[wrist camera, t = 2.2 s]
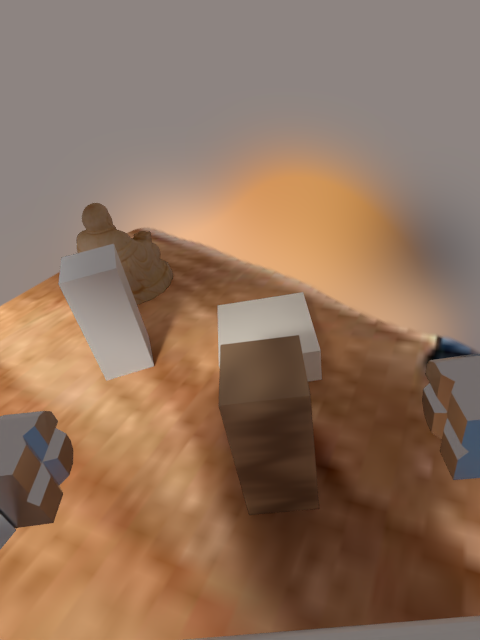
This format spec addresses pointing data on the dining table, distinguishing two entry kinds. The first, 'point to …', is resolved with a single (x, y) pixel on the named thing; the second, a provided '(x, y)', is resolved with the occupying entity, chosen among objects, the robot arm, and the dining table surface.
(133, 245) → the statue
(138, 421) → the dining table surface
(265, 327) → the cream base
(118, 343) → the grey block
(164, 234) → the dining table surface
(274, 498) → the walnut block
